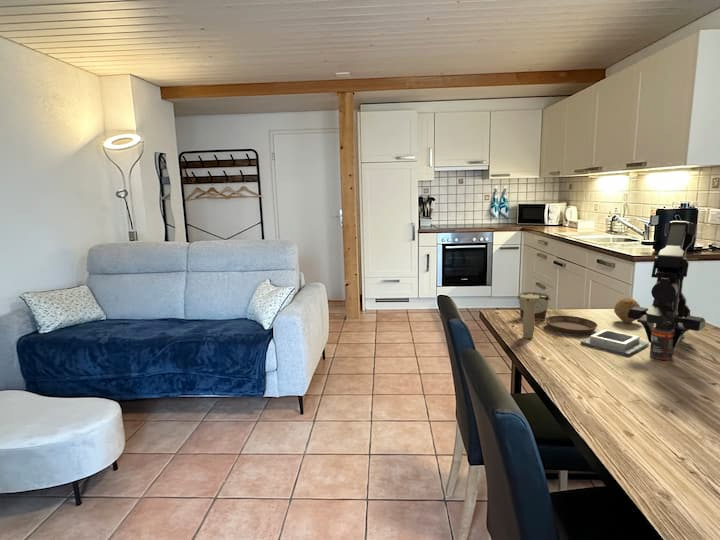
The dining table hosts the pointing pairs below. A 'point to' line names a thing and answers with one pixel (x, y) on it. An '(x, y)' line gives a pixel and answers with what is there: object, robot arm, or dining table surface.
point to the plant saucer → (571, 325)
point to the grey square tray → (615, 342)
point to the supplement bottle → (662, 342)
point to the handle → (528, 314)
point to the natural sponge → (625, 308)
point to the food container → (536, 305)
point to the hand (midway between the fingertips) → (662, 344)
